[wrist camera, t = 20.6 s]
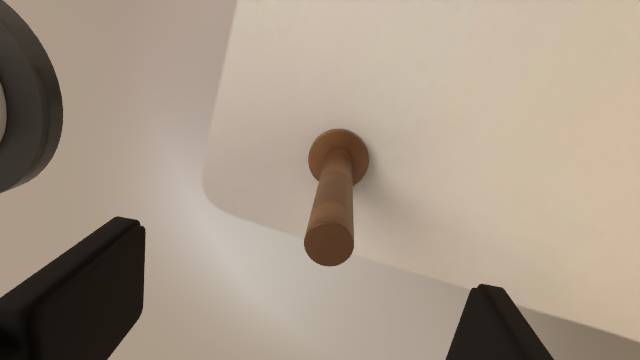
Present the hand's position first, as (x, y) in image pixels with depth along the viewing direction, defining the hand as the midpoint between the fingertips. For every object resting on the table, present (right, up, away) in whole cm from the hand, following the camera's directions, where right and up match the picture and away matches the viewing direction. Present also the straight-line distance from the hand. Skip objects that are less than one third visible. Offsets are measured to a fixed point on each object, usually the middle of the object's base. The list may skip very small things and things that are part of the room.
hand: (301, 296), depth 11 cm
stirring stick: (+2, +5, +17) cm, 18 cm away
